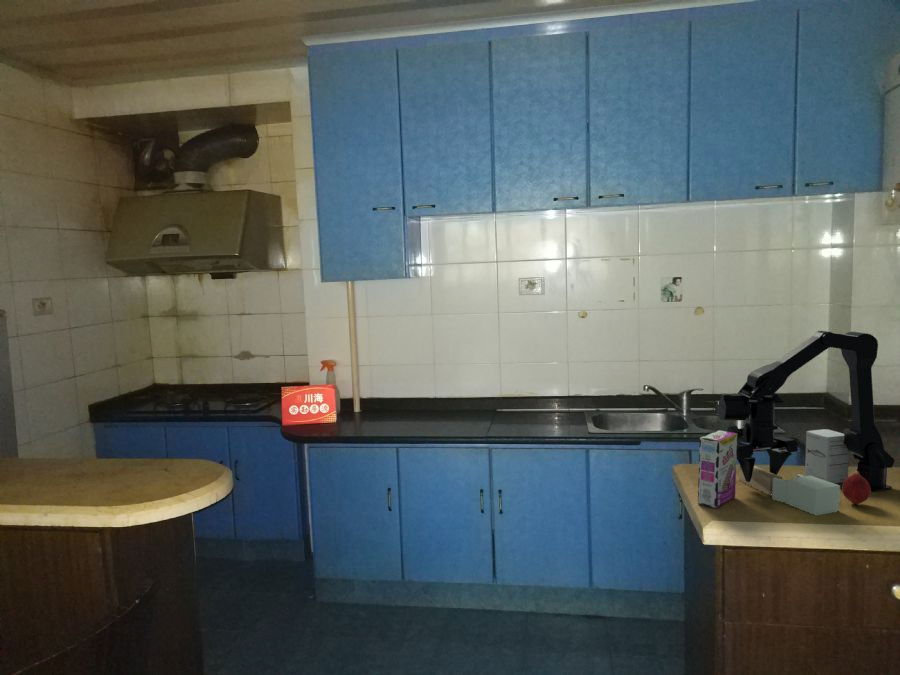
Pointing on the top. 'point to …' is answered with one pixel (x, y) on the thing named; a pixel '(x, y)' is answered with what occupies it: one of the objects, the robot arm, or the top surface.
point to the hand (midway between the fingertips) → (760, 479)
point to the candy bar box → (717, 468)
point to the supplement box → (826, 455)
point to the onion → (856, 488)
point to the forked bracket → (808, 494)
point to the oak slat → (760, 479)
